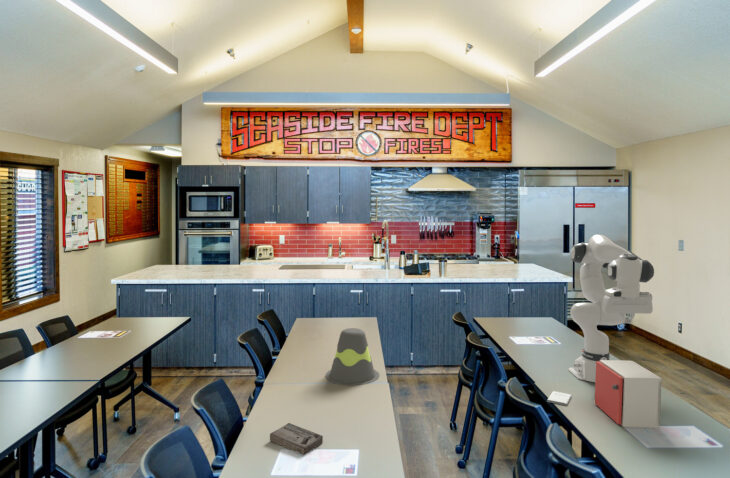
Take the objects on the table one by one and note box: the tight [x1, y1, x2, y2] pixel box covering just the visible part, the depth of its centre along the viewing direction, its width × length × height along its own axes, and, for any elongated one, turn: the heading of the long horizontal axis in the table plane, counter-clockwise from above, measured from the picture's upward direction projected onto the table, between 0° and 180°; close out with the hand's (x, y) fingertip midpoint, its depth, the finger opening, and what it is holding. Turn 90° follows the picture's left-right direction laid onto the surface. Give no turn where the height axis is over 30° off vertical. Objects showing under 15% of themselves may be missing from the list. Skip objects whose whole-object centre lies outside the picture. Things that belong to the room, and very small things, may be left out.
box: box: [269, 422, 324, 456], centre depth 173 cm, size 11×17×3 cm, turn 56°
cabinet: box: [600, 359, 662, 429], centre depth 197 cm, size 22×14×20 cm, turn 178°
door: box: [594, 361, 623, 426], centre depth 198 cm, size 21×3×19 cm, turn 178°
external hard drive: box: [546, 390, 572, 406], centre depth 214 cm, size 2×8×12 cm
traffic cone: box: [325, 327, 380, 386], centre depth 243 cm, size 28×28×24 cm
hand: (626, 323), depth 206 cm, fingers closed
